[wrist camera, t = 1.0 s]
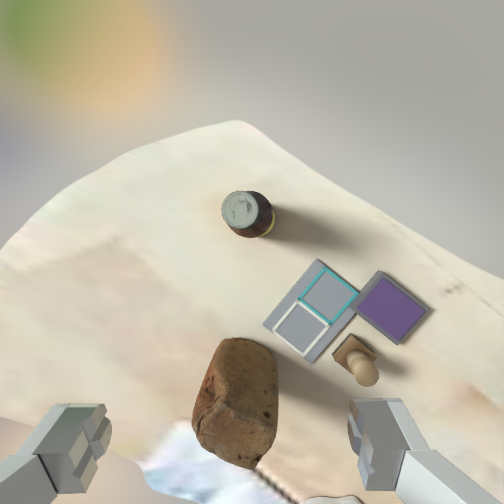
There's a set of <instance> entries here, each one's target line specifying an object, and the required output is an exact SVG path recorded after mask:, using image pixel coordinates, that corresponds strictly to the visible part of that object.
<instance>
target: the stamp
mask: <svg viewBox="0 0 504 504" xmlns="http://www.w3.org/2000/svg"><path fill="white" fill-rule="evenodd" d="M332 355H333V357H334V360H335V361H336V362H338V363H339V364H340V365H341V366H343V367H344V368H345V369H346V370H348V371H349V372H350V373H352V374H353V375H354V377H355V378H356V380H357V382H358V383H359V384H360V385H362V386H365V387H369V386H373V385H374V384H375V383H376V382H377V381H378V379H379V373H378V371H377V369H376V368H375V366H374V365H373V364H372V363H373V361H374V360H375V359H376V358H377V356H376V354H375V353H374V352H373V351H372V350H371V349H370V348H368V347H367V346H366V345H365V344H363V343H362V342H361V341H360V340H358V339H357V338H356V337H355V336H353V335H352V334H351V333H350V334H349V335H348V336H347V337H346V339H345V340H344V341H343V342H342V343H341V344H340V345H339V347H338V348H337V349H336V350H335V351H334V352H333V353H332Z"/></svg>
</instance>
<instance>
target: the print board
mask: <svg viewBox="0 0 504 504" xmlns="http://www.w3.org/2000/svg"><path fill="white" fill-rule="evenodd" d="M359 295H360V293H359V292H358V291H356V290H355V289H354V288H353V287H351V286H350V285H349V284H347V283H346V282H345V281H344V280H342V279H341V278H340V277H339V276H337V275H336V274H335V273H334V272H332V271H331V270H330V269H328V268H327V267H326V266H325V265H323V264H322V263H321V262H320V261H318V260H317V259H315V261H314V262H313V263H312V264H311V265H310V267H309V268H308V269H307V270H306V271H305V273H304V274H303V275H302V276H301V278H300V279H299V280H298V281H297V282H296V284H295V285H294V286H293V287H292V288H291V290H290V291H289V292H288V293H287V294H286V296H285V297H284V298H283V299H282V301H281V302H280V303H279V304H278V305H277V307H276V308H275V309H274V310H273V311H272V313H271V314H270V315H269V316H268V317H267V319H266V320H265V321H264V322H263V324H262V325H263V326H264V327H266V328H267V329H268V330H270V331H271V332H272V333H273V334H275V335H276V336H277V337H278V338H280V339H281V340H282V341H283V342H285V343H286V344H287V345H288V346H290V347H291V348H292V349H293V350H295V351H296V352H297V353H298V354H300V355H301V356H302V357H303V358H305V359H306V360H307V361H308V362H310V363H312V362H313V361H314V360H315V359H316V358H317V356H318V355H319V354H320V353H321V352H322V351H323V350H324V348H325V347H326V346H327V345H328V344H329V343H330V342H331V340H332V339H333V338H334V337H335V336H336V335H337V333H338V332H339V331H340V330H341V329H342V328H343V327H344V325H345V324H346V323H347V322H348V321H349V320H350V318H351V317H352V316H353V315H354V314H355V312H354V311H353V310H352V309H350V308H349V306H350V305H351V304H352V303H353V302H354V300H355V299H356V298H357V297H358V296H359Z"/></svg>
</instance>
